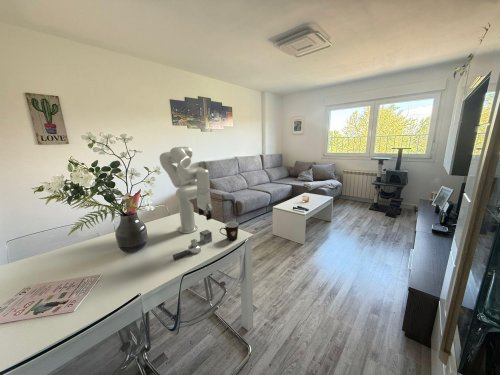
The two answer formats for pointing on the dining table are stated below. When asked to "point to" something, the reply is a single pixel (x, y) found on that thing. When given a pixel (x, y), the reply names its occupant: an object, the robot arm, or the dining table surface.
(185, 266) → the dining table surface
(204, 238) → the socket
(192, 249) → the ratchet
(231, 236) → the coffee mug
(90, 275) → the dining table surface
